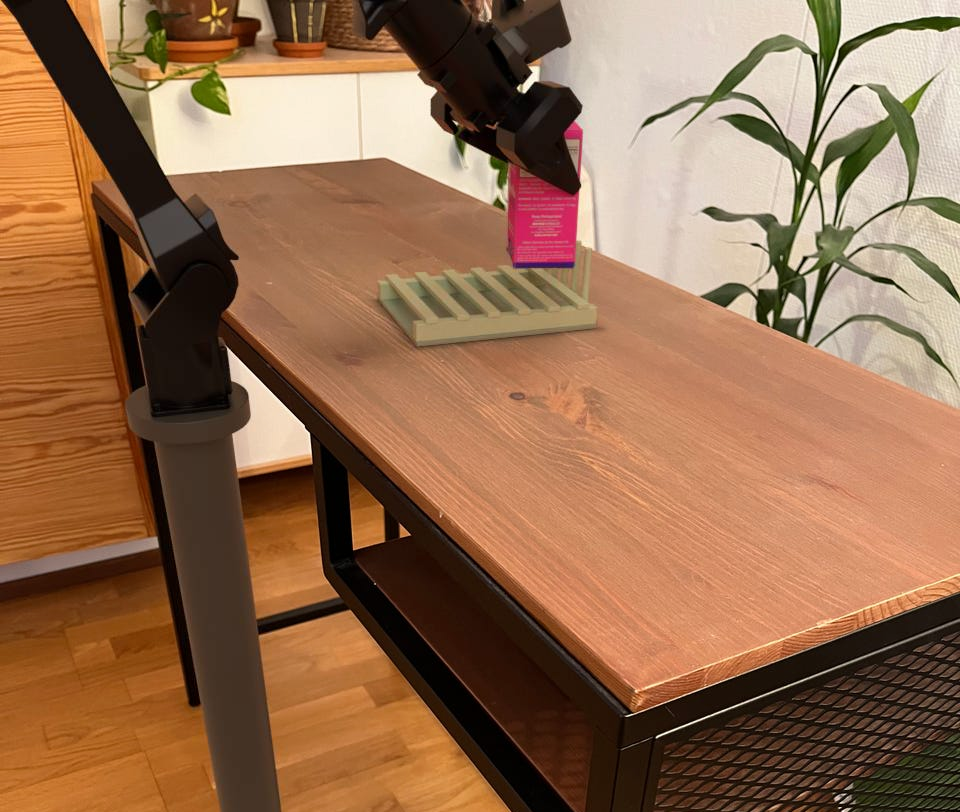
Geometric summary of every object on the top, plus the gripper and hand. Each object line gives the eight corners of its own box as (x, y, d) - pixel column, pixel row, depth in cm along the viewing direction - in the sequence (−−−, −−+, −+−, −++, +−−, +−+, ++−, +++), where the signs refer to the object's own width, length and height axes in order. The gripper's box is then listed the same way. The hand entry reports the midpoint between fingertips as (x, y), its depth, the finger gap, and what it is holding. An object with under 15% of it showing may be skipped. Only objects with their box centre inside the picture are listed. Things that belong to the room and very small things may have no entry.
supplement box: (503, 251, 96) (509, 115, 90) (566, 252, 97) (576, 117, 90) (510, 269, 92) (517, 126, 85) (576, 269, 92) (587, 128, 86)
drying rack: (416, 346, 94) (415, 268, 90) (377, 300, 105) (375, 228, 101) (596, 328, 99) (602, 253, 95) (541, 285, 110) (545, 216, 106)
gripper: (569, -41, 72) (680, 126, 83) (465, -52, 86) (571, 92, 96) (463, 88, 74) (584, 236, 84) (378, 57, 88) (491, 187, 98)
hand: (558, 182), depth 91 cm, fingers closed on supplement box, 7 cm apart
